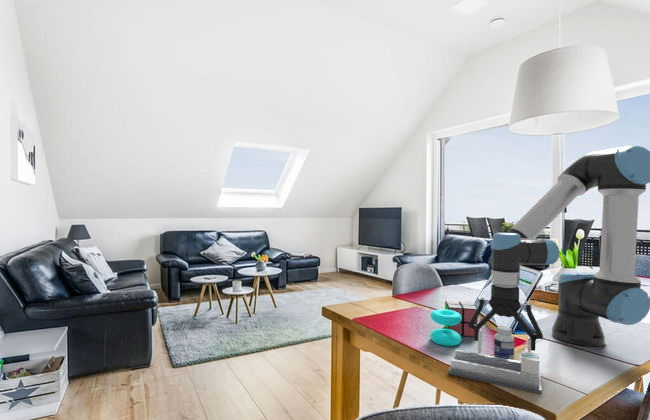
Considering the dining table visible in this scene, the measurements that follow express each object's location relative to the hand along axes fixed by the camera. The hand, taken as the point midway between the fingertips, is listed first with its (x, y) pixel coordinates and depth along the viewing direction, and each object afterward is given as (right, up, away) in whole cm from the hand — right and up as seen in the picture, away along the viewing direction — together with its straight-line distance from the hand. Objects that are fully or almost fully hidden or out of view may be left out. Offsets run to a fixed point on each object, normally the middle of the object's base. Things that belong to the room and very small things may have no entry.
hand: (503, 356), depth 110 cm
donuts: (-13, -1, +15) cm, 19 cm away
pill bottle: (0, -1, 0) cm, 1 cm away
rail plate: (-7, -1, -10) cm, 12 cm away
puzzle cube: (-4, -1, +25) cm, 25 cm away
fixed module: (0, -1, -14) cm, 14 cm away
